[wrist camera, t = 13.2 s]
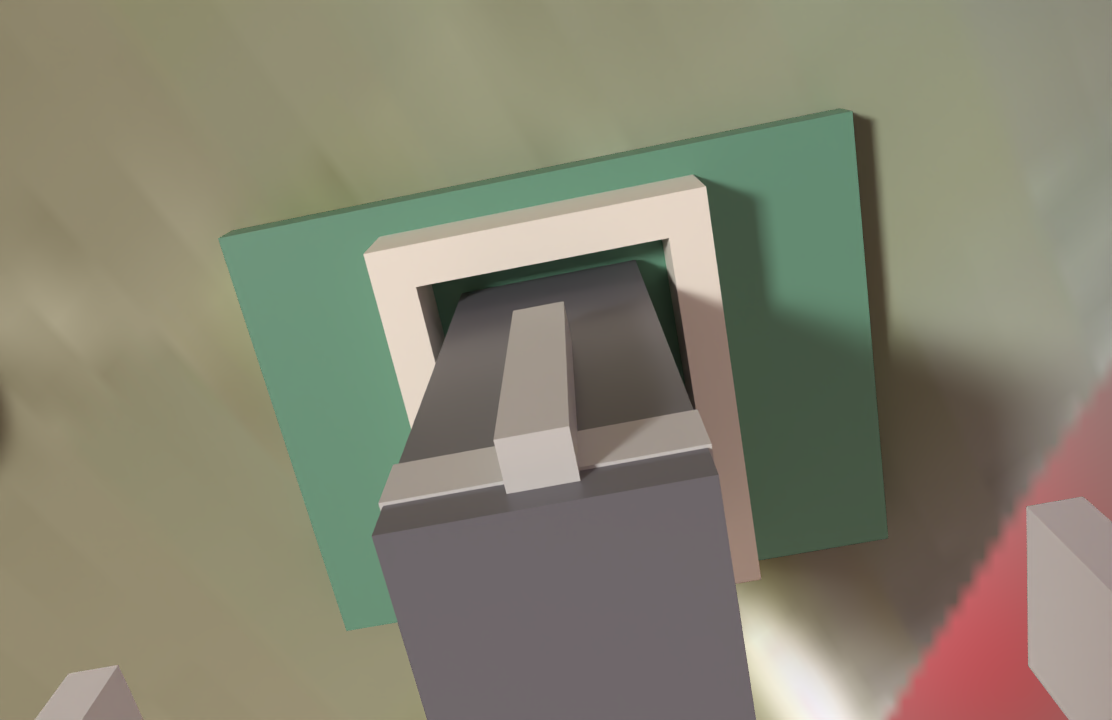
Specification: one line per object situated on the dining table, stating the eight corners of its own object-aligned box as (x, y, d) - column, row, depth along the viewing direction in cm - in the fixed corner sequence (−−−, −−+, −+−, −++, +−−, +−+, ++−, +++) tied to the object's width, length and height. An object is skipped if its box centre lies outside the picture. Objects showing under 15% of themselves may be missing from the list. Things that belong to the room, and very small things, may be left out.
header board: (353, 610, 27) (330, 675, 24) (231, 230, 23) (187, 255, 21) (876, 520, 26) (915, 577, 24) (839, 108, 22) (881, 117, 20)
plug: (516, 531, 25) (488, 929, 14) (452, 263, 23) (350, 482, 11) (678, 502, 25) (784, 885, 13) (632, 228, 22) (714, 416, 11)
